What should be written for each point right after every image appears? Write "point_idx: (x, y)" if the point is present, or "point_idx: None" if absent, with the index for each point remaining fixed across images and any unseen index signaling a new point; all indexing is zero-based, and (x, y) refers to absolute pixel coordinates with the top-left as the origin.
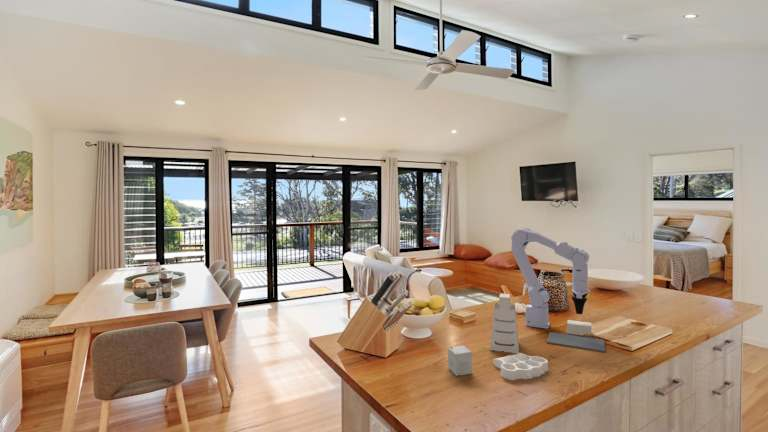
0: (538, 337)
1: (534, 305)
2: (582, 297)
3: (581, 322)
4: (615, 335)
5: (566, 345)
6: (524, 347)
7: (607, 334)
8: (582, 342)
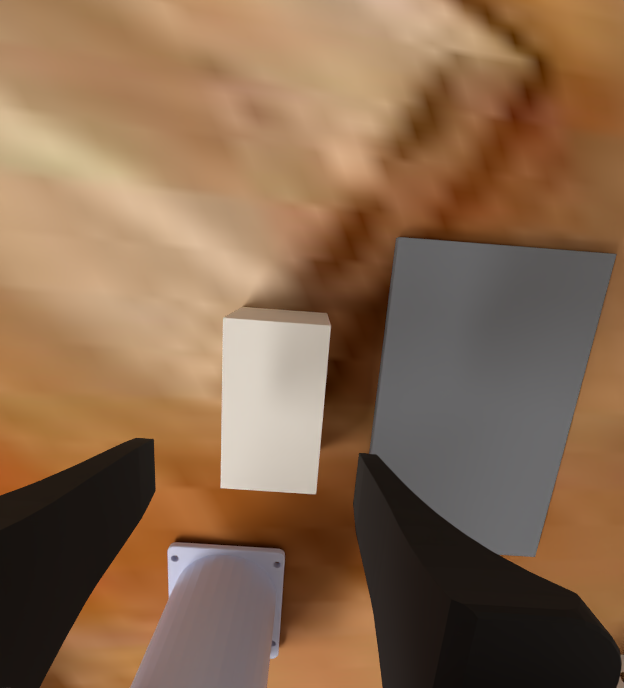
0: None
1: None
2: (15, 575)
3: (248, 394)
4: (226, 138)
5: (555, 460)
6: (619, 634)
7: (228, 197)
8: (494, 377)
